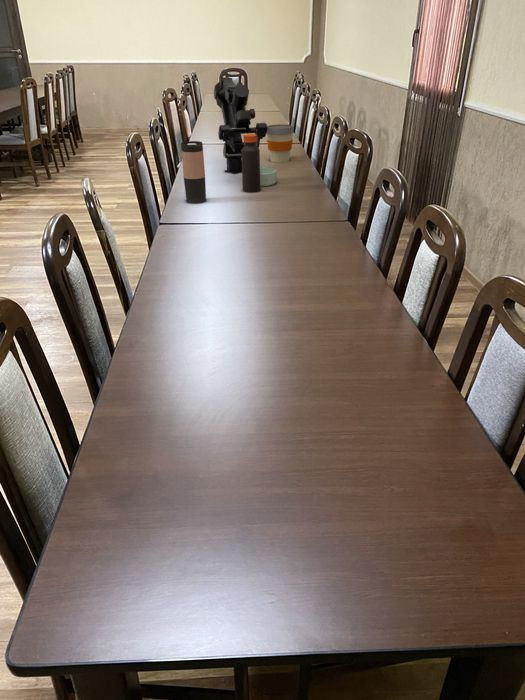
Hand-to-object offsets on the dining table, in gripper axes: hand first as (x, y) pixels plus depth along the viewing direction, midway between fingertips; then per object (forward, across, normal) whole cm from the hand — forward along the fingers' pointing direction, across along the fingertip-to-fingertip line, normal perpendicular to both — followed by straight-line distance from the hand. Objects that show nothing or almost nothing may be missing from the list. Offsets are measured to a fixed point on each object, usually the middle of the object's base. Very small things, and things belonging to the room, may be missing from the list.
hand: (246, 150), depth 207 cm
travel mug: (+21, -23, -2) cm, 31 cm away
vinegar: (+15, 0, +4) cm, 16 cm away
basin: (+8, +6, +11) cm, 15 cm away
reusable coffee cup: (-20, +25, +40) cm, 51 cm away
